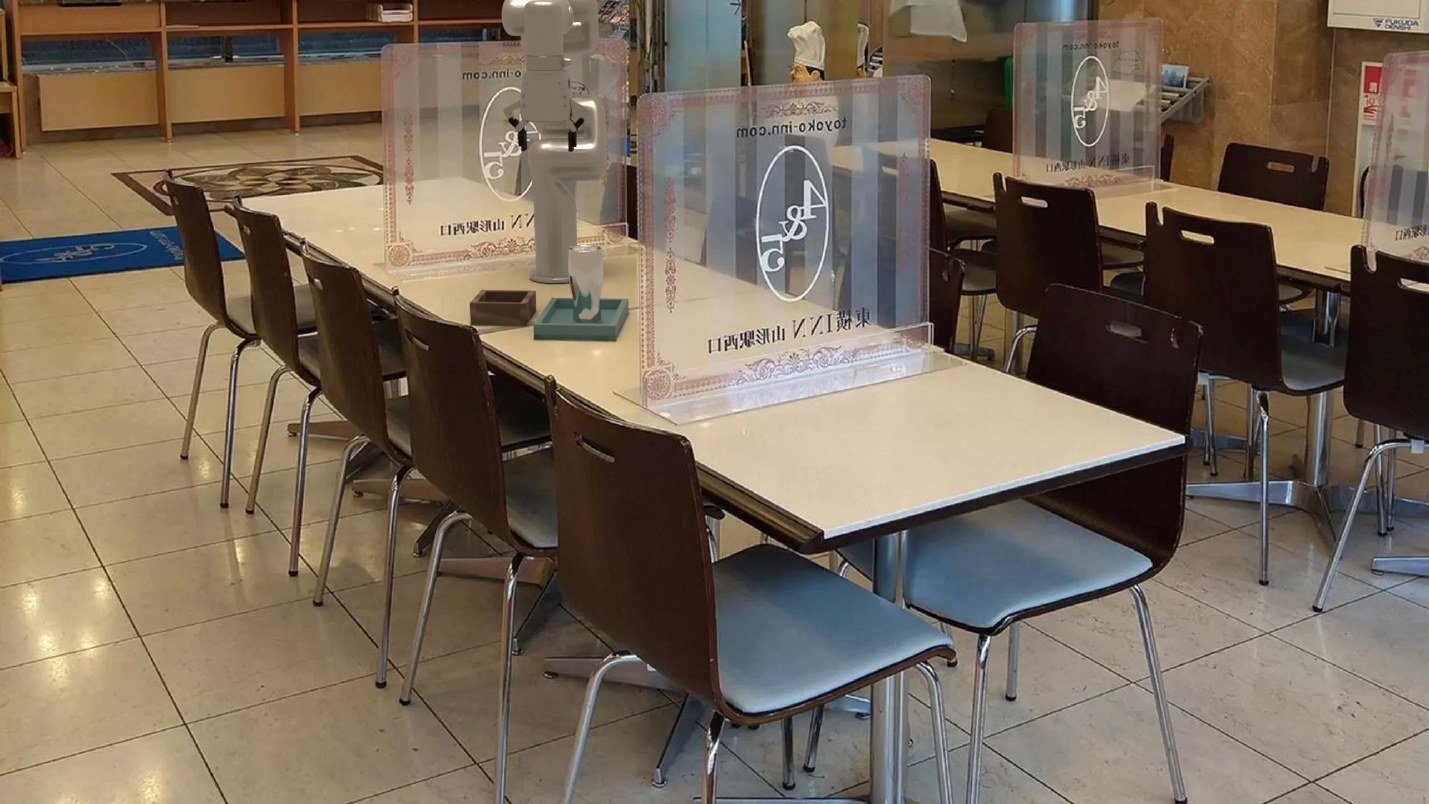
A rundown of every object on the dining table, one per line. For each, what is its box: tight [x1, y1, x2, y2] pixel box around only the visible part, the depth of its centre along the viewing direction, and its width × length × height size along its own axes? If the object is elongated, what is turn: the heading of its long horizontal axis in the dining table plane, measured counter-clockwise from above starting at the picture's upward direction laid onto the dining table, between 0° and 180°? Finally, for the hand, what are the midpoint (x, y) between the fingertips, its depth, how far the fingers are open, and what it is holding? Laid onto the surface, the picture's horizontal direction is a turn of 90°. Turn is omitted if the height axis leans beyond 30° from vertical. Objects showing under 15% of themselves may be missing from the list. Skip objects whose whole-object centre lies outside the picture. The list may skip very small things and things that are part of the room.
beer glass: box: [568, 244, 604, 324], centre depth 297 cm, size 7×7×15 cm
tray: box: [532, 297, 630, 342], centre depth 300 cm, size 22×16×3 cm
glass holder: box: [469, 289, 537, 327], centre depth 306 cm, size 11×11×4 cm
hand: (547, 150), depth 302 cm, fingers open, 9 cm apart
